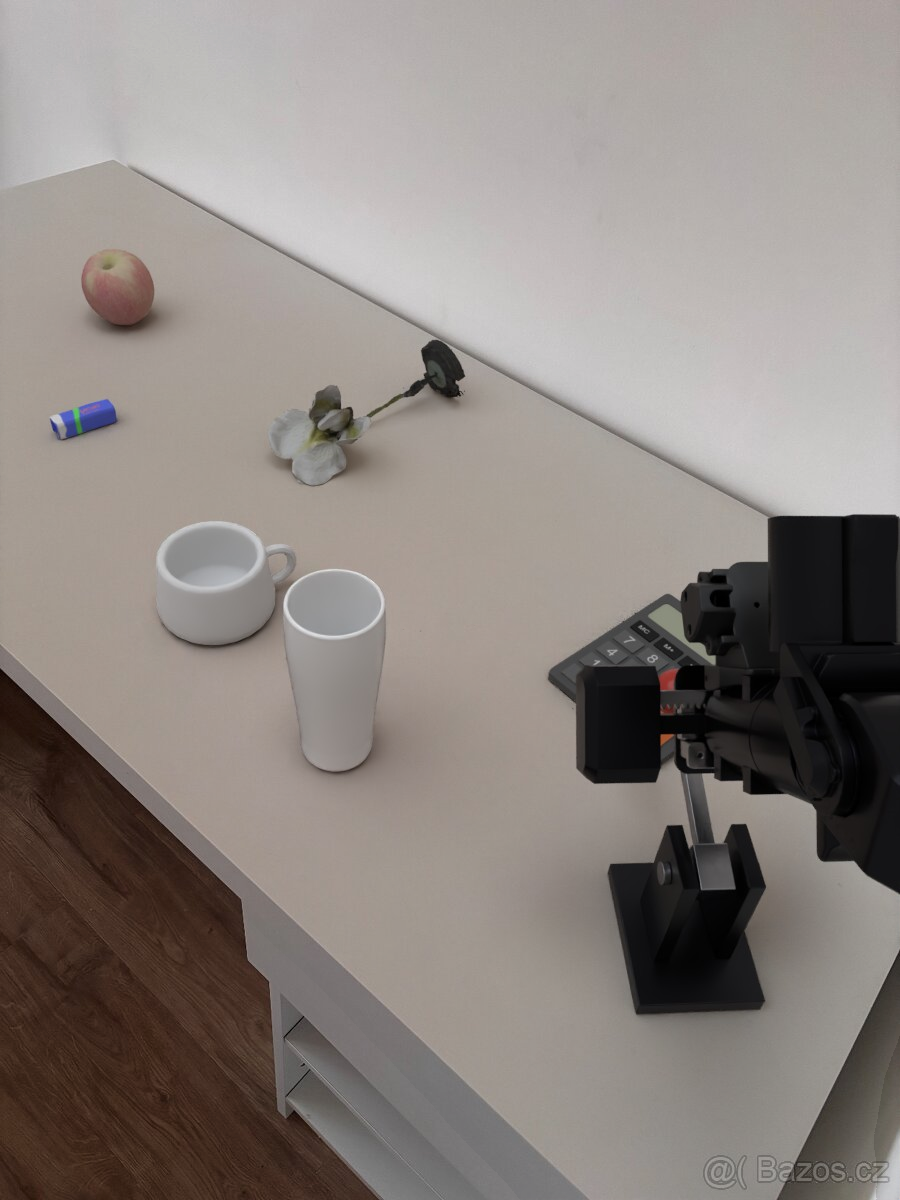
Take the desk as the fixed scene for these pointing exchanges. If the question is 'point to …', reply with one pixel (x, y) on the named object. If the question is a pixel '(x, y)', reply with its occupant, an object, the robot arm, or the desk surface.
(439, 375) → the artificial flower
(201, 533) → the mug
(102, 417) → the eraser
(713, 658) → the calculator
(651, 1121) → the desk surface
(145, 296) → the apple
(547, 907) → the desk surface
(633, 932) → the switch bracket
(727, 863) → the lever
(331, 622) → the drinking glass
